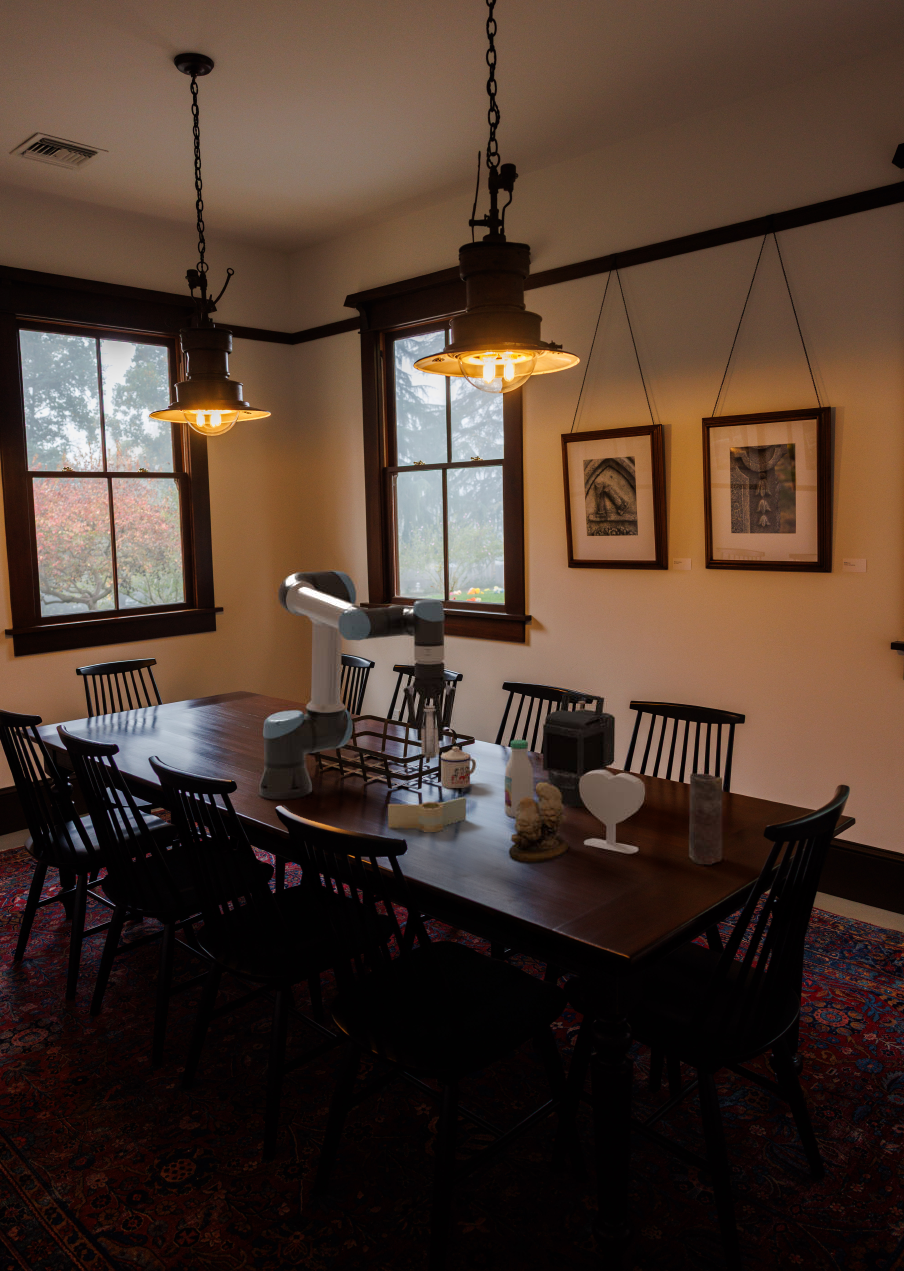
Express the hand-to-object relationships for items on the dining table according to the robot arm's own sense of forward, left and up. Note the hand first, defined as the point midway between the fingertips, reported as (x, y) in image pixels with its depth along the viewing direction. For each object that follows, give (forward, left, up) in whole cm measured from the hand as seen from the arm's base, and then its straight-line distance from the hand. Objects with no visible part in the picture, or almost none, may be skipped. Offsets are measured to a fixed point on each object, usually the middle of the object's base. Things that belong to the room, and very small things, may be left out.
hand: (430, 753), depth 220 cm
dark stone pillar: (+66, -15, -20) cm, 71 cm away
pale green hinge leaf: (+3, +3, -20) cm, 20 cm away
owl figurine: (+28, -13, -20) cm, 37 cm away
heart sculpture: (+45, -8, -20) cm, 50 cm away
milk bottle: (+22, +14, -20) cm, 33 cm away
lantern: (+38, +29, -20) cm, 52 cm away
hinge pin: (0, 0, -1) cm, 1 cm away
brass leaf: (-4, 0, -20) cm, 20 cm away
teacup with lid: (+3, +40, -20) cm, 45 cm away
